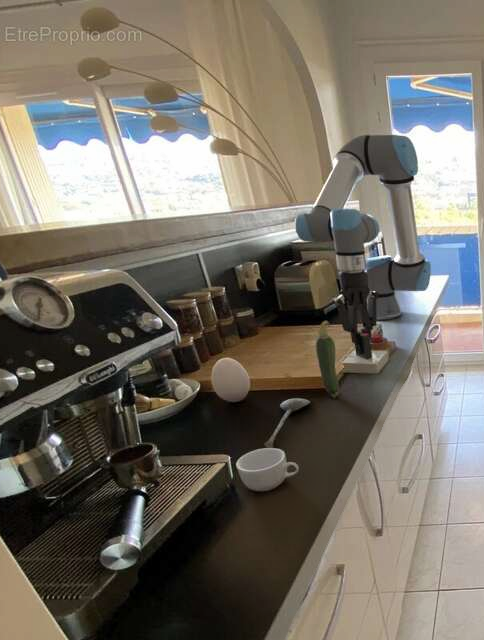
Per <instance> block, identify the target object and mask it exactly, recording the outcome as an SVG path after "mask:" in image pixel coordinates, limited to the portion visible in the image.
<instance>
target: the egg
mask: <svg viewBox="0 0 484 640" xmlns="http://www.w3.org/2000/svg"><path fill="white" fill-rule="evenodd" d="M210 379H211V386H212V388H213V390H214V393H216V395H217V396H218V397H219V398H220V399H222V400H224V401H226V402H229V403H238V402H241V401H243V400H244V399H246V397H247V395H248V393H249V391H250V388H251V379H250V377H249V373H248V372H247V370H246V369H245V368H244V367H243V365H242V364H241V363H240V362H239V361H237V360H235V359H233V358H231V357H223V358H220V359H219V360H218V361H216V363H214V365H213V367H212V371H211V376H210Z"/></svg>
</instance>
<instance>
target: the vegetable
mask: <svg viewBox="0 0 484 640" xmlns="http://www.w3.org/2000/svg"><path fill="white" fill-rule="evenodd" d="M327 327H330V323H329V321H328V320H324V321H323V322H321V323H320V326H319V329H318V337H317V339H316V341H315V351H316V356H317V361H318V367H319V371H320V376H321V381H322V384H323V387H324V390H325V391H326V392H327V394H329V395H331V397H333V398H334V399H336V397H338V395H339V394H340V384H339V380H338V379H339V378H338V375H337V372H336V344H335V341H334V339H333V337H331V336H329V335H328V334H329V333H328V329H327Z"/></svg>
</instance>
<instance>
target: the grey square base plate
mask: <svg viewBox="0 0 484 640" xmlns="http://www.w3.org/2000/svg"><path fill="white" fill-rule="evenodd" d="M353 350H354V351H353V352H352V353H351V354H350V355H348V354H347V355H348V357H347V358H346V359H345V360H344V361H343V362H342V363H343V365H344V369H342V370H341V371H340V370H339V371H340V373H349V374H353V373H355V374H379V373H380V371H382V369H383V368H384V367H385V366H386V364H387V363H388V362H389V361H390V358H389V357H390V356H388V351H374V350H371V351H372V358H370V359H364V358H362V357H360V356H357V355H356V350H355V349H353Z"/></svg>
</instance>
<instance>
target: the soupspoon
mask: <svg viewBox="0 0 484 640" xmlns="http://www.w3.org/2000/svg"><path fill="white" fill-rule="evenodd" d="M309 404H311V401H310V400H308V399H305V398H299V397H295V398H289V399H286V400H284V401H282V402H281V403H280V404H279V407H280V408H281V409H282V410H284V411H286V412H285V413H284V414H283V416H282V418H281V419H280V421H279V423H278V425H277V426H276V429H275V430H274V431H273V433H272V434H271V435H270V438H269V439H268V440H267V441H266V442H264V443H263V446H264V447H265V448H274V441H275V439H276V437H277V434H279V431H280V430H281V428H282V427H283V425H284V423H285V422H286V420H287V419H288V417H289V416H290V415H291V413H293V412H295V411H297V410H299V409H302V408H303V407H306V406H307V405H309Z"/></svg>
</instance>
